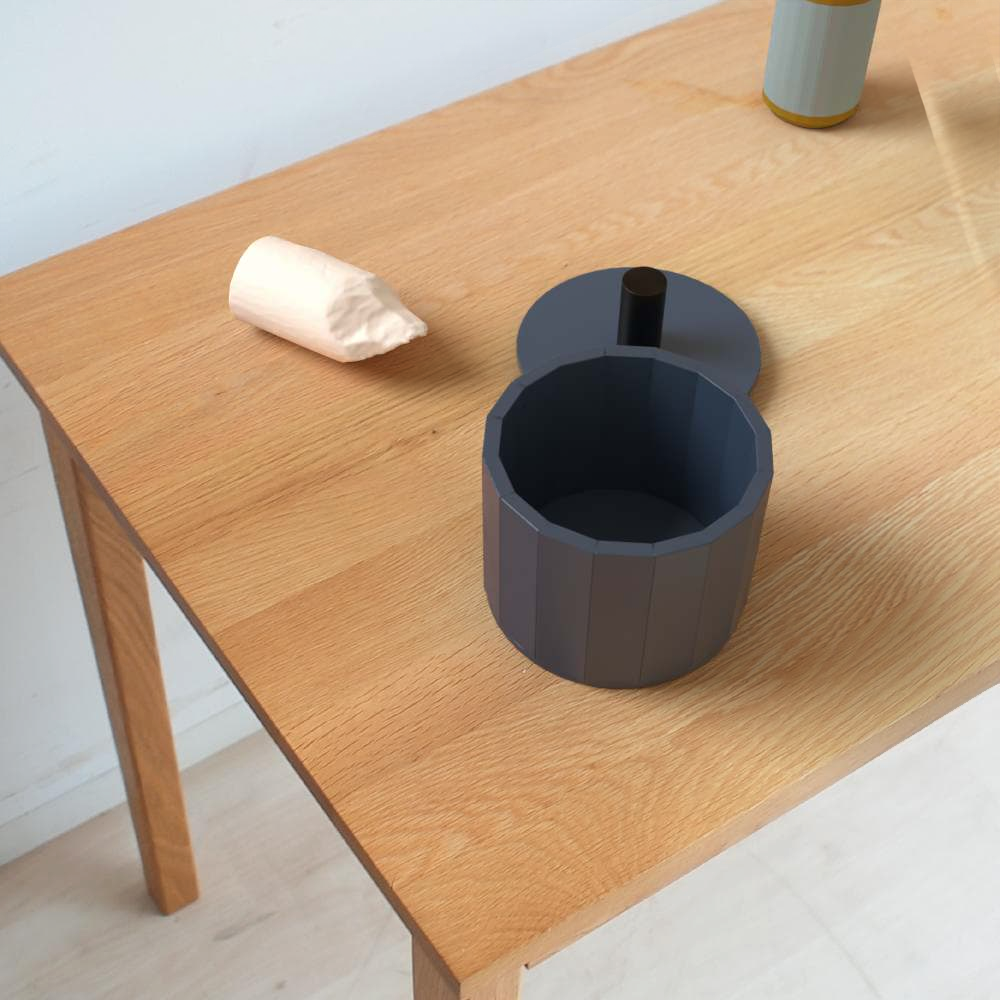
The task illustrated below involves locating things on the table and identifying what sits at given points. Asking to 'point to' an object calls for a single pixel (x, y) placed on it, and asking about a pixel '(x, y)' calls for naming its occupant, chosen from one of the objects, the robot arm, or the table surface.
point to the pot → (622, 513)
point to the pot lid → (642, 321)
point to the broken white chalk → (319, 301)
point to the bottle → (818, 59)
